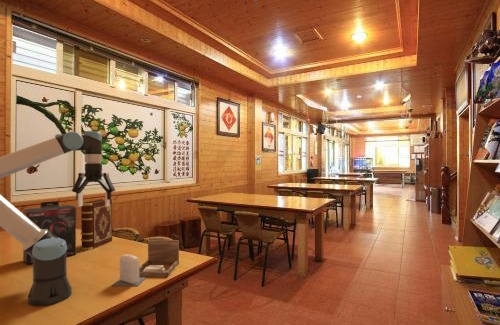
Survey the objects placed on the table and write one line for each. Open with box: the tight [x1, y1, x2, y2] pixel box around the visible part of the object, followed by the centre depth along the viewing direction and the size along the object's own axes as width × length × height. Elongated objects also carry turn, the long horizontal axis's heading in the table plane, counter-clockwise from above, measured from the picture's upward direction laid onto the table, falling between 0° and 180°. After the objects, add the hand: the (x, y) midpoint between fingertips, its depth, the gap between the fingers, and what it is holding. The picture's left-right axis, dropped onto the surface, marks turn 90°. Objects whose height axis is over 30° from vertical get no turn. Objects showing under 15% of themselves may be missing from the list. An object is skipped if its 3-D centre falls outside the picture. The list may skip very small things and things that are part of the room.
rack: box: [139, 239, 180, 278], centre depth 153 cm, size 19×17×13 cm
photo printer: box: [119, 253, 140, 284], centre depth 138 cm, size 10×4×12 cm, turn 61°
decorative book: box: [79, 198, 113, 251], centre depth 200 cm, size 22×8×30 cm, turn 168°
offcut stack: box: [142, 264, 167, 273], centre depth 148 cm, size 7×10×4 cm, turn 88°
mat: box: [111, 277, 147, 287], centre depth 138 cm, size 9×12×1 cm
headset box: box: [22, 200, 77, 265], centre depth 174 cm, size 25×12×33 cm, turn 136°
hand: (93, 206), depth 144 cm, fingers open, 13 cm apart
